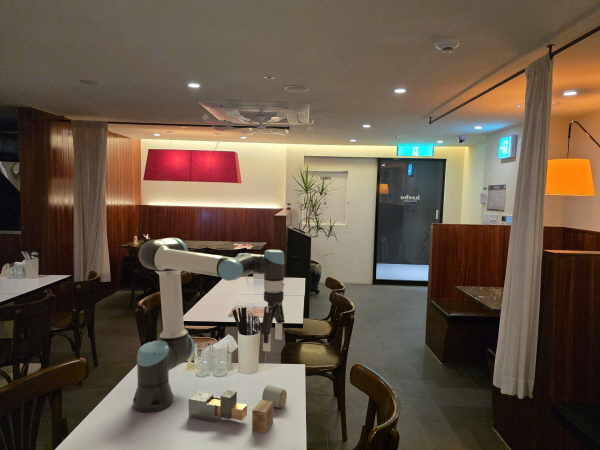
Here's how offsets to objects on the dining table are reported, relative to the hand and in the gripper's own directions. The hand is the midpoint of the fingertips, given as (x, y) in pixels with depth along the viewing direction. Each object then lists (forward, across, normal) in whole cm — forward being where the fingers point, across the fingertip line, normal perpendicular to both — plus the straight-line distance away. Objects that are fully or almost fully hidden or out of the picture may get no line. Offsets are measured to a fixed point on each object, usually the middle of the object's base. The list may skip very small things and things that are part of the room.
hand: (272, 344), depth 161 cm
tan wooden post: (+24, -12, +16) cm, 31 cm away
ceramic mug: (+26, +4, 0) cm, 26 cm away
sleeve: (+26, -12, +21) cm, 36 cm away
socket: (+26, -13, -1) cm, 29 cm away
